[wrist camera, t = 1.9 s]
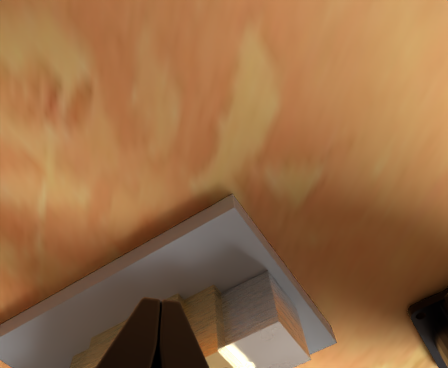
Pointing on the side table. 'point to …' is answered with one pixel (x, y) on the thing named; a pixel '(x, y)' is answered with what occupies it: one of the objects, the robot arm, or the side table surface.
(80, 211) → the side table surface
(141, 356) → the robot arm
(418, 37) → the side table surface
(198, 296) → the valve
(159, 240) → the board
